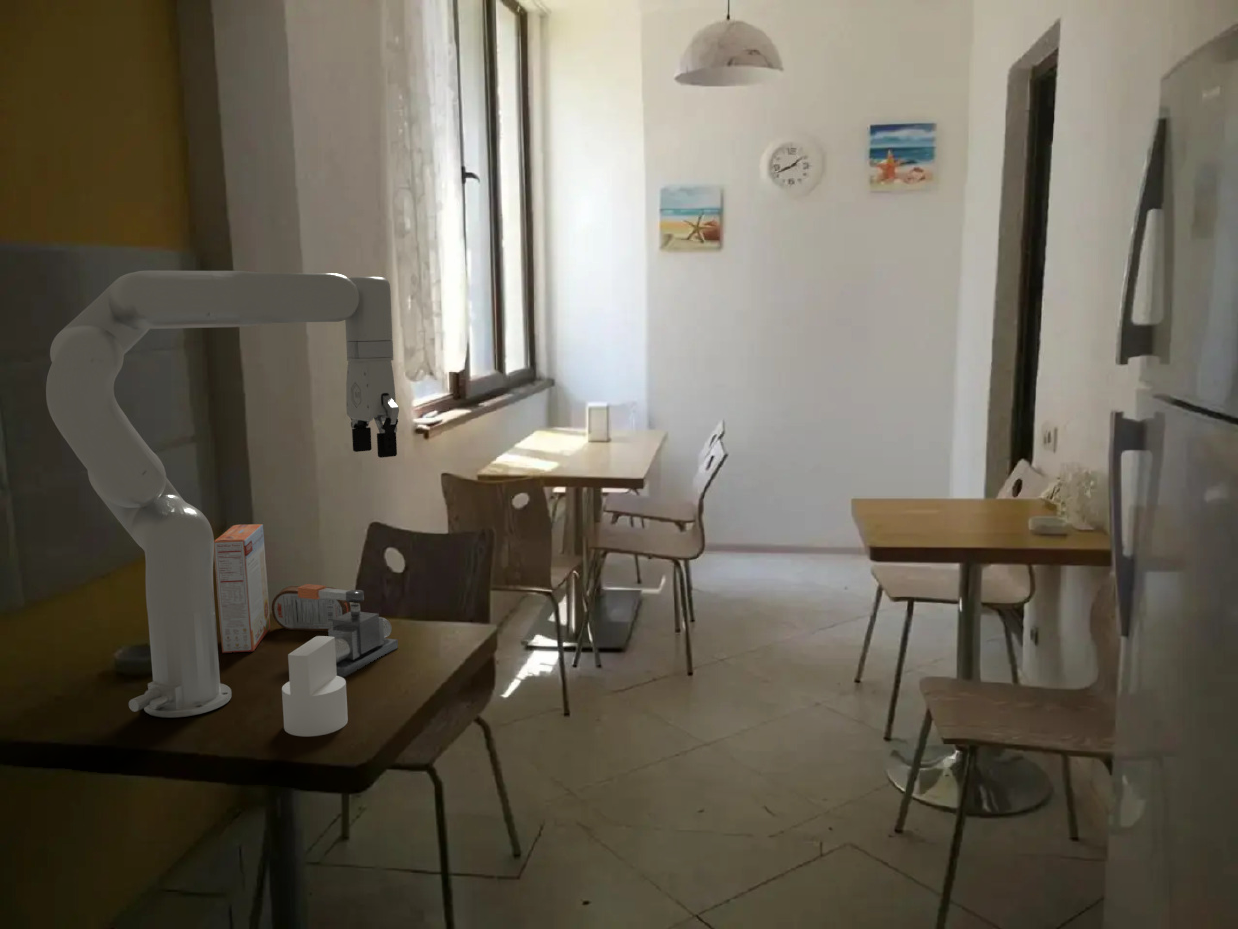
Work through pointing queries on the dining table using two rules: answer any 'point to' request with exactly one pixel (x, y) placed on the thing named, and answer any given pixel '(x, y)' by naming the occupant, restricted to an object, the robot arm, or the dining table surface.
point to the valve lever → (329, 593)
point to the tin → (306, 611)
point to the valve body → (360, 639)
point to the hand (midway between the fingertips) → (374, 453)
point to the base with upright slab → (314, 690)
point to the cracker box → (242, 587)
